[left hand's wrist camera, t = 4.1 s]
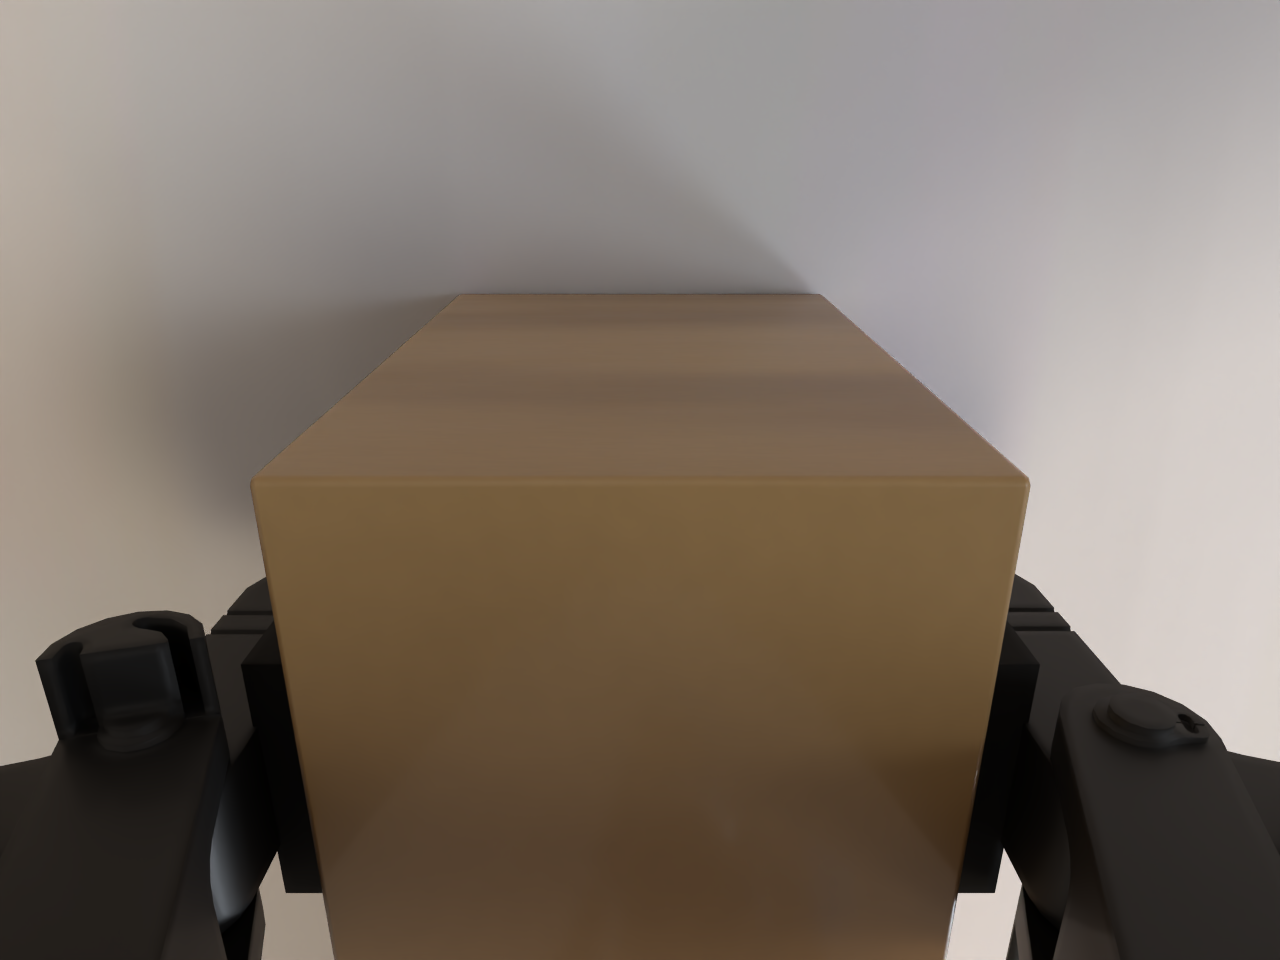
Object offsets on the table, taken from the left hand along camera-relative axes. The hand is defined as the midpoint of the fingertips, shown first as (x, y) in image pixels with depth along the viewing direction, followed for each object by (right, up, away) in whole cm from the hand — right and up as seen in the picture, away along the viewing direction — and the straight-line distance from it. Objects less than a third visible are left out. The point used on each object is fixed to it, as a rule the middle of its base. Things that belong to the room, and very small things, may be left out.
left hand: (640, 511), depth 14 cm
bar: (0, -11, +5) cm, 12 cm away
